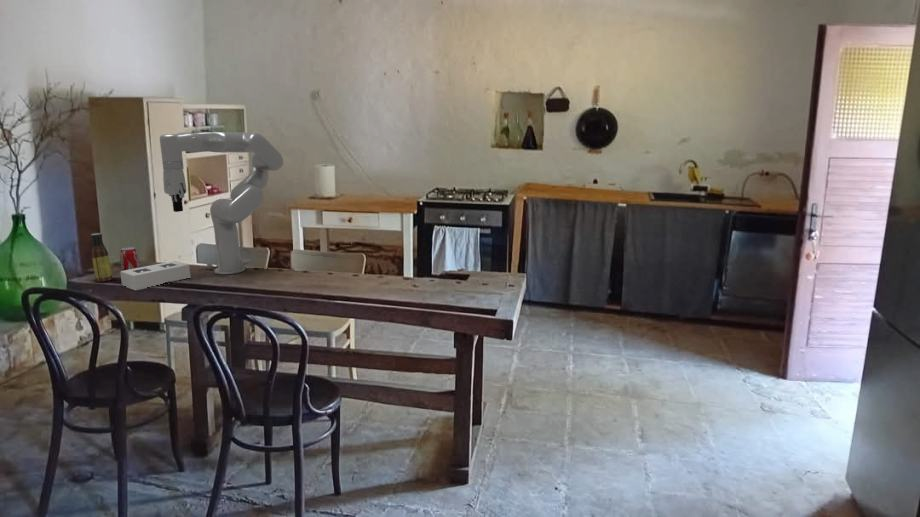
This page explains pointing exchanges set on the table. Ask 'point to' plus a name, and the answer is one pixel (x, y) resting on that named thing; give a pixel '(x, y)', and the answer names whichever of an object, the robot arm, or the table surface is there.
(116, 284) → the table surface
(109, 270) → the sauce bottle
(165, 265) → the inner pin
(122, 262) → the soda can
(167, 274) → the pin block
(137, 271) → the outer pin
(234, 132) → the robot arm
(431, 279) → the table surface
